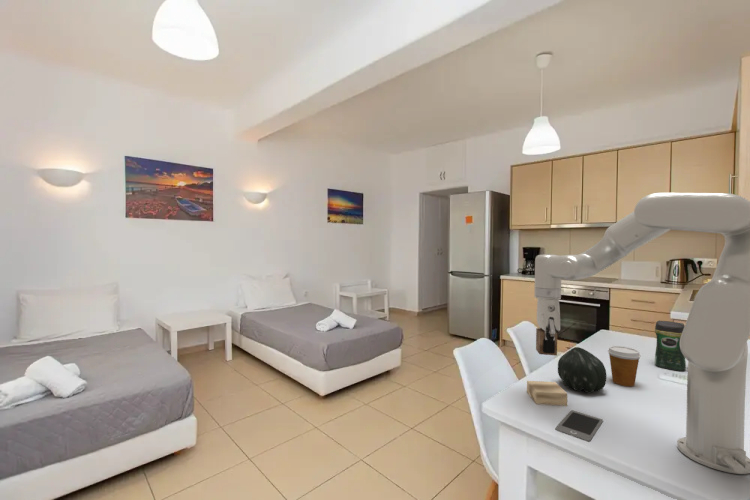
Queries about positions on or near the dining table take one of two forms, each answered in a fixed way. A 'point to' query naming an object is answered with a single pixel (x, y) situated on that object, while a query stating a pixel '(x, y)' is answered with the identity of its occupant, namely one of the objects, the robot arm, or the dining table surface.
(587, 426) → the smartphone
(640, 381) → the dining table surface
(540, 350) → the walnut block
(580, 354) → the squash
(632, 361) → the disposable coffee cup
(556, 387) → the oak base block
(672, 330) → the coffee jar
